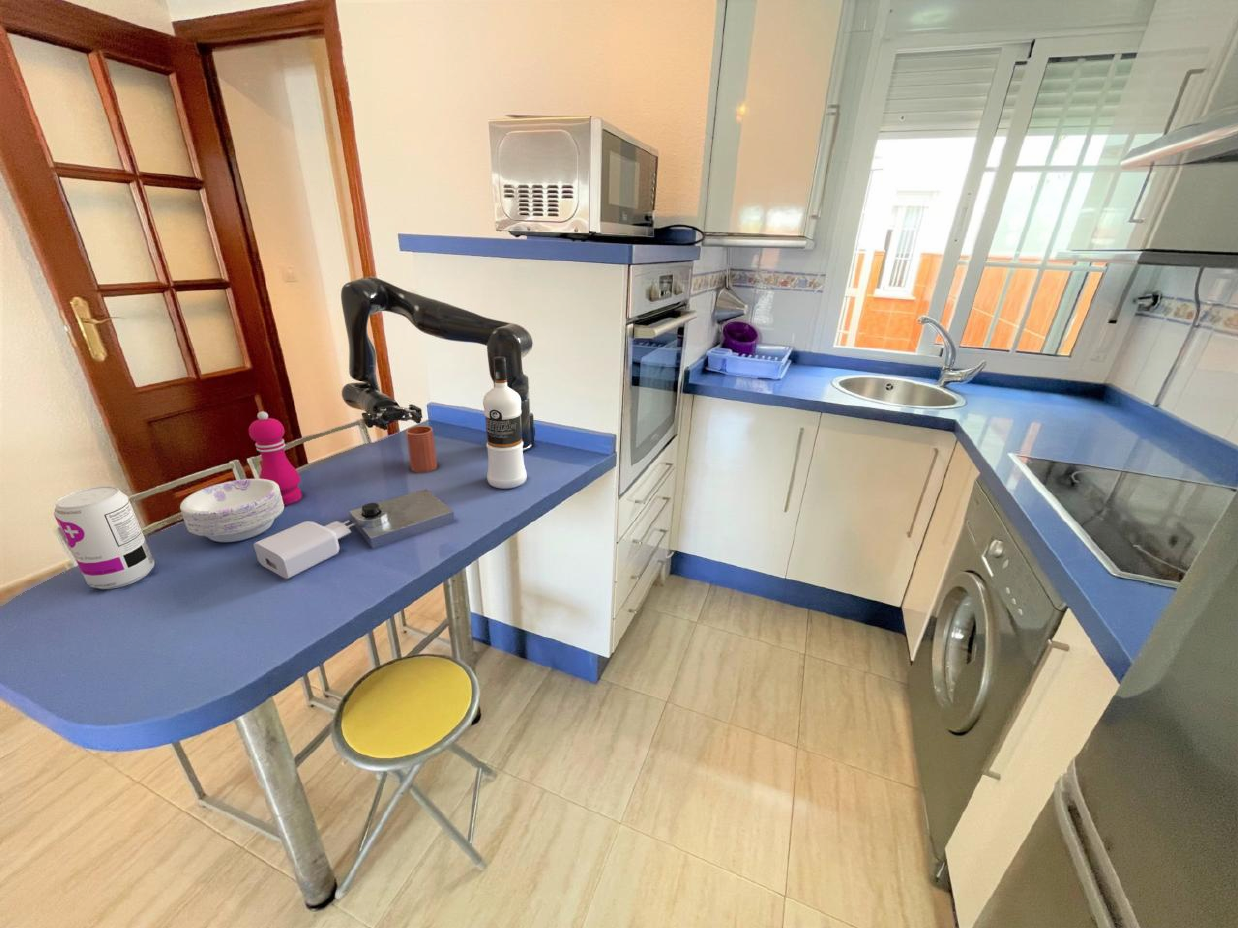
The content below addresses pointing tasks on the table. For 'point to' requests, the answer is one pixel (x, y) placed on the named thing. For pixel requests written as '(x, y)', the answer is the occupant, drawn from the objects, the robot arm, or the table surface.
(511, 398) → the vodka
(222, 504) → the paper bowls
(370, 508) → the button
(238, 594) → the table surface
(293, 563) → the charger
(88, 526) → the supplement can
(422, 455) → the cup
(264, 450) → the pepper mill
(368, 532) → the scale
